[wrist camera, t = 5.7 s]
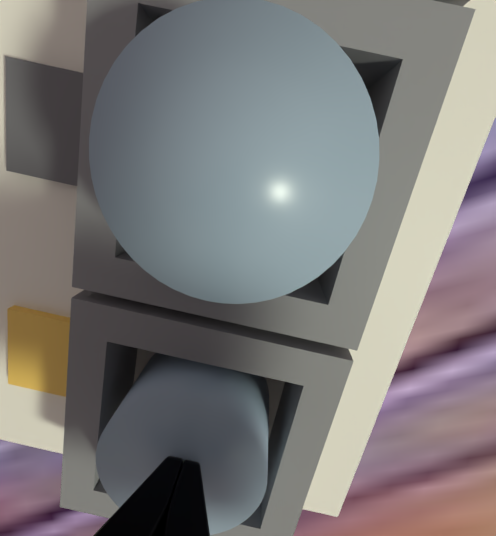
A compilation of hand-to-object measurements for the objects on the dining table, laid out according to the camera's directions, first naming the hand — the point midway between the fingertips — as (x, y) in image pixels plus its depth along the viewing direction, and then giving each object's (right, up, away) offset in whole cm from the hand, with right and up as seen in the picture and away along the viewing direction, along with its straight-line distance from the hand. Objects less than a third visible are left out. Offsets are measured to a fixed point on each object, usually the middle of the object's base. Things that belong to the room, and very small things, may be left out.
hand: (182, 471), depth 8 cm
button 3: (0, +1, +3) cm, 3 cm away
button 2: (+2, +8, -1) cm, 8 cm away
